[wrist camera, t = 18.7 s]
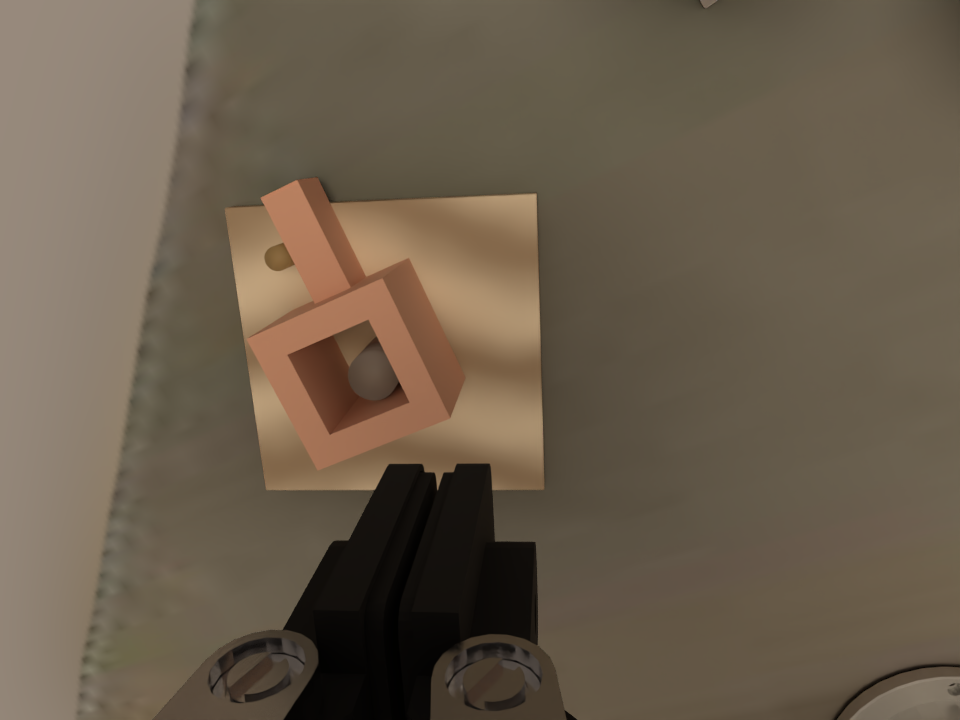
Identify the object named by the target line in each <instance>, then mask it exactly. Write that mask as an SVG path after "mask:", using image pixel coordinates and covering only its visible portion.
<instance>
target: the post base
mask: <svg viewBox="0 0 960 720" xmlns="http://www.w3.org/2000/svg"><path fill="white" fill-rule="evenodd" d="M330 204H331V206H332V208H333V210H334V212H335V214H336V216H337V218H338V220H339V222H340V224H341V226H342V228H343V230H344V233H345V235H346V237H347V239H348V241H349V243H350V245H351V247H352V249H353V251H354V253H355V255H356V257H357V259H358V261H359V263H360V265H361V267H362V269H363V271H364V273H365V275H366V277H367V276H369V275H372V274H374V273H376V272H378V271H380V270H383V269H385V268H387V267H389V266H392V265H394V264H396V263H398V262H400V261H403V260H405V259H407V258H409V259H410V261H411V263H412V265H413V267H414V270H415V272H416V274H417V276H418V278H419V280H420V282H421V284H422V286H423V289H424V291H425V293H426V295H427V297H428V299H429V301H430V303H431V306H432V308H433V310H434V312H435V314H436V316H437V318H438V320H439V322H440V325H441V327H442V329H443V331H444V333H445V335H446V337H447V339H448V342H449V344H450V346H451V348H452V350H453V352H454V354H455V356H456V359H457V361H458V363H459V365H460V367H461V369H462V371H463V373H464V375H465V381H464V383H463V386H462V389H461V391H460V394H459V397H458V399H457V402H456V405H455V407H454V410H453V413H452V415H451V418H450V419H447V420H445V421H442V422H440V423H437V424H435V425H432V426H430V427H427V428H425V429H422V430H420V431H417V432H414V433H412V434H409V435H407V436H404V437H402V438H399V439H397V440H394V441H392V442H389V443H387V444H384V445H381V446H379V447H376V448H374V449H371V450H369V451H366V452H364V453H361V454H359V455H356V456H354V457H351V458H348V459H346V460H343V461H341V462H338V463H336V464H333V465H331V466H328V467H326V468H323V469H321V470H317V469H316V467H315V465H314V463H313V461H312V459H311V458H310V456H309V454H308V452H307V450H306V448H305V446H304V445H303V443H302V441H301V439H300V437H299V435H298V434H297V432H296V430H295V428H294V426H293V424H292V422H291V421H290V419H289V417H288V415H287V413H286V411H285V410H284V408H283V406H282V404H281V402H280V400H279V399H278V397H277V395H276V393H275V391H274V389H273V387H272V386H271V384H270V382H269V380H268V378H267V376H266V375H265V373H264V371H263V369H262V367H261V365H260V363H259V362H258V360H257V358H256V356H255V354H254V352H253V351H252V349H251V347H250V345H249V343H248V341H247V338H249V337H250V336H252V335H253V334H255V333H257V332H258V331H260V330H261V329H263V328H265V327H266V326H268V325H269V324H271V323H273V322H274V321H276V320H277V319H279V318H281V317H282V316H284V315H285V314H287V313H289V312H290V311H292V310H294V309H296V308H298V307H300V306H303V305H305V304H307V303H309V302H312V301H313V299H312V297H311V295H310V293H309V291H308V290H307V288H306V286H305V284H304V282H303V280H302V278H301V276H300V274H299V272H298V270H297V268H296V266H295V264H294V262H293V260H292V258H291V256H290V254H289V252H288V250H287V248H286V247H285V245H284V243H283V241H282V239H281V237H280V235H279V233H278V231H277V229H276V227H275V225H274V223H273V221H272V219H271V217H270V215H269V213H268V211H267V209H266V207H265V205H250V206H233V207H228V208H225V212H226V219H227V226H228V233H229V240H230V247H231V253H232V260H233V267H234V274H235V281H236V288H237V294H238V301H239V308H240V315H241V322H242V329H243V335H244V342H245V349H246V356H247V363H248V370H249V376H250V383H251V390H252V397H253V404H254V411H255V417H256V424H257V431H258V438H259V445H260V452H261V458H262V465H263V472H264V479H265V486H266V490H375V489H376V487H377V485H378V483H379V481H380V479H381V477H382V475H383V473H384V471H385V470H386V468H387V466H388V465H389V464H423V466H424V471H425V472H434V473H435V475H436V481H437V490H438V488H439V485H440V482H441V479H442V476H443V473H444V472H454V470H455V466H456V464H466V463H489V464H490V466H491V476H492V490H544V445H543V408H542V370H541V332H540V295H539V257H538V220H537V193H518V194H496V195H473V196H451V197H429V198H406V199H384V200H362V201H340V202H330ZM333 336H334V338H335V340H336V342H337V344H338V346H339V348H340V350H341V352H342V354H343V356H344V358H345V360H346V362H347V364H348V366H349V370H348V380H349V383H350V386H351V387H352V389H353V390H354V392H355V393H356V394H358V395H359V396H360V397H362V398H364V399H367V400H381V399H384V398H386V397H387V396H389V395H390V394H391V393H392V392H393V390H394V389H395V387H396V386H397V384H398V383H399V380H398V378H397V376H396V374H395V372H394V370H393V368H392V366H391V364H390V362H389V360H388V358H387V356H386V354H385V352H384V350H383V348H382V346H381V344H380V342H379V340H378V338H377V336H376V334H375V332H374V330H373V328H372V326H371V324H370V322H369V320H366V321H364V322H362V323H359V324H357V325H355V326H352V327H350V328H348V329H346V330H343V331H341V332H339V333H336V334H334V335H333Z"/></svg>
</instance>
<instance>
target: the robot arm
mask: <svg viewBox="0 0 960 720" xmlns="http://www.w3.org/2000/svg"><path fill="white" fill-rule="evenodd" d="M537 645H538V595H537V561H536V544H535V542H495V536H494V515H493V495H492V476H491V466H490V464H489V463H466V464H456V466H455V470H454V472H444V473H443V476H442V479H441V482H440V485H439V488H438V491H437V481H436V475H435V473H434V472H425V471H424V466H423V464H389V465H388V466H387V468H386V470H385V471H384V473H383V475H382V477H381V479H380V481H379V483H378V485H377V487H376V489H375V491H374V493H373V495H372V497H371V499H370V500H369V502H368V504H367V506H366V508H365V510H364V512H363V514H362V516H361V518H360V520H359V522H358V524H357V526H356V527H355V529H354V531H353V533H352V535H351V537H350V539H349V541H333V542H332V544H331V545H330V546H329V548H328V550H327V552H326V553H325V555H324V557H323V559H322V561H321V562H320V564H319V566H318V568H317V569H316V571H315V573H314V575H313V577H312V578H311V580H310V582H309V584H308V586H307V587H306V589H305V591H304V593H303V595H302V596H301V598H300V600H299V602H298V603H297V605H296V607H295V609H294V611H293V612H292V614H291V616H290V618H289V620H288V621H287V623H286V625H285V627H284V629H283V630H266V631H261V632H255V633H251V634H248V635H245V636H243V637H240V638H237V639H234V640H233V641H231V642H229V643H227V644H226V645H224V646H222V647H220V648H219V649H217V650H216V651H215V652H214V653H213V654H212V655H211V656H209V657H208V658H207V659H206V660H205V661H204V662H203V663H202V664H201V665H200V667H199V668H198V669H197V670H196V671H195V672H194V673H193V674H192V676H191V677H190V678H189V679H188V680H187V681H186V682H185V683H184V684H183V686H182V687H181V688H180V689H179V690H178V691H177V692H176V693H175V695H174V696H173V697H172V698H171V699H170V700H169V701H168V702H167V704H166V705H165V706H164V707H163V708H162V709H161V710H160V711H159V713H158V714H157V715H156V716H155V717H154V718H153V719H152V720H577V719H576V718H574V717H573V716H572V715H571V714H569V713H568V712H567V711H565V710H564V706H563V701H562V697H561V692H560V688H559V683H558V679H557V674H556V670H555V667H554V665H553V663H552V661H551V659H550V657H549V656H548V655H547V654H546V653H545V652H544V651H543V650H542V649H541V648H540V647H539V646H537ZM837 720H960V668H959V667H933V668H921V669H917V670H913V671H909V672H905V673H901V674H898V675H896V676H893V677H891V678H888V679H886V680H883V681H881V682H879V683H877V684H876V685H874V686H872V687H871V688H869V689H867V690H866V691H864V692H863V693H861V694H860V695H859V696H858V697H857V698H856V699H855V700H853V701H852V702H851V703H850V704H849V705H848V706H847V707H846V708H845V710H844V711H843V712H842V714H841V715H840V716H839V717H838V719H837Z"/></svg>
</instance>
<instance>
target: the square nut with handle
mask: <svg viewBox="0 0 960 720" xmlns="http://www.w3.org/2000/svg"><path fill="white" fill-rule="evenodd" d="M261 200H262V202H263V204H264V205H265V207H266V209H267V211H268V213H269V215H270V217H271V219H272V221H273V223H274V225H275V227H276V229H277V231H278V233H279V235H280V237H281V239H282V241H283V243H284V245H285V247H286V248H287V250H288V252H289V254H290V256H291V258H292V260H293V262H294V264H295V266H296V268H297V270H298V272H299V274H300V276H301V278H302V280H303V282H304V284H305V286H306V288H307V290H308V291H309V293H310V295H311V297H312V299H313V301H312V302H309V303H307V304H305V305H303V306H300V307H298V308H296V309H294V310H292V311H290V312H289V313H287V314H285V315H284V316H282V317H281V318H279V319H277V320H276V321H274V322H273V323H271V324H269V325H268V326H266V327H265V328H263V329H261V330H260V331H258V332H257V333H255V334H253V335H252V336H250V337H249V338H247V341H248V343H249V345H250V347H251V349H252V351H253V352H254V354H255V356H256V358H257V360H258V362H259V363H260V365H261V367H262V369H263V371H264V373H265V375H266V376H267V378H268V380H269V382H270V384H271V386H272V387H273V389H274V391H275V393H276V395H277V397H278V399H279V400H280V402H281V404H282V406H283V408H284V410H285V411H286V413H287V415H288V417H289V419H290V421H291V422H292V424H293V426H294V428H295V430H296V432H297V434H298V435H299V437H300V439H301V441H302V443H303V445H304V446H305V448H306V450H307V452H308V454H309V456H310V458H311V459H312V461H313V463H314V465H315V467H316V469H317V470H321V469H323V468H326V467H328V466H331V465H333V464H336V463H338V462H341V461H343V460H346V459H348V458H351V457H354V456H356V455H359V454H361V453H364V452H366V451H369V450H371V449H374V448H376V447H379V446H381V445H384V444H387V443H389V442H392V441H394V440H397V439H399V438H402V437H404V436H407V435H409V434H412V433H414V432H417V431H420V430H422V429H425V428H427V427H430V426H432V425H435V424H437V423H440V422H442V421H445V420H447V419H450V418H451V415H452V413H453V410H454V407H455V405H456V402H457V399H458V397H459V394H460V391H461V389H462V386H463V383H464V381H465V375H464V373H463V371H462V369H461V367H460V365H459V363H458V361H457V359H456V356H455V354H454V352H453V350H452V348H451V346H450V344H449V342H448V339H447V337H446V335H445V333H444V331H443V329H442V327H441V325H440V322H439V320H438V318H437V316H436V314H435V312H434V310H433V308H432V306H431V303H430V301H429V299H428V297H427V295H426V293H425V291H424V289H423V286H422V284H421V282H420V280H419V278H418V276H417V274H416V272H415V270H414V267H413V265H412V263H411V261H410V259H409V258H407V259H405V260H403V261H400V262H398V263H396V264H394V265H392V266H389V267H387V268H385V269H383V270H380V271H378V272H376V273H374V274H372V275H369V276H367V277H366V275H365V273H364V271H363V269H362V267H361V265H360V263H359V261H358V259H357V257H356V255H355V253H354V251H353V249H352V247H351V245H350V243H349V241H348V239H347V237H346V235H345V233H344V230H343V228H342V226H341V224H340V222H339V220H338V218H337V216H336V214H335V212H334V210H333V208H332V206H331V204H330V202H329V200H328V198H327V196H326V194H325V192H324V190H323V188H322V186H321V184H320V181H319V179H318V177H316V178H308V179H300V180H296V181H294V182H292V183H290V184H288V185H286V186H284V187H282V188H280V189H278V190H276V191H274V192H271V193H269V194H267V195H265V196H263V197H261ZM366 320H369V322H370V324H371V326H372V328H373V330H374V332H375V334H376V336H377V338H378V340H379V342H380V344H381V346H382V348H383V350H384V352H385V354H386V356H387V358H388V360H389V362H390V364H391V366H392V368H393V370H394V372H395V374H396V376H397V378H398V380H399V383H398V384H397V386H396V387H395V389H394V390H393V392H392V393H391V394H390V395H389V396H387V397H386V398H384V399H381V400H367V399H364V398H362V397H360V396H359V395H358V394H356V393H355V392H354V390H353V389H352V387H351V386H350V383H349V380H348V370H349V366H348V364H347V362H346V360H345V358H344V356H343V354H342V352H341V350H340V348H339V346H338V344H337V342H336V340H335V338H334V336H333V335H334V334H336V333H339V332H341V331H343V330H346V329H348V328H350V327H352V326H355V325H357V324H359V323H362V322H364V321H366Z"/></svg>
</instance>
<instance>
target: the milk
mask: <svg viewBox="0 0 960 720" xmlns="http://www.w3.org/2000/svg"><path fill="white" fill-rule="evenodd" d="M716 1H718V0H700V2H701V4H702V5H703V7H704V8H707V7H709V6H711V5H712V4H713V3H715V2H716Z"/></svg>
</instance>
